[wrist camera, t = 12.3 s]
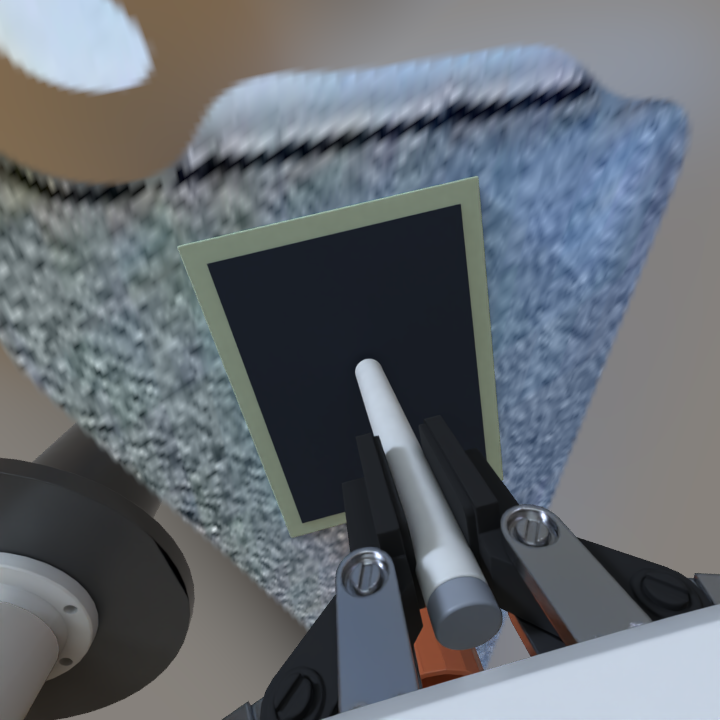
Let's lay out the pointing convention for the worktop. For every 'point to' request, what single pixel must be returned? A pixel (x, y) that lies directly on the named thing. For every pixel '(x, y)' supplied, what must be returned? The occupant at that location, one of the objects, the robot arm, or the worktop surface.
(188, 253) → the tablet
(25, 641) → the robot arm
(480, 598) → the stylus
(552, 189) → the worktop surface
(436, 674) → the pen cup
